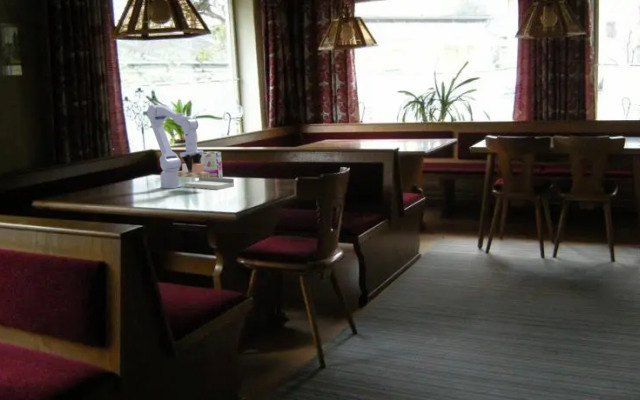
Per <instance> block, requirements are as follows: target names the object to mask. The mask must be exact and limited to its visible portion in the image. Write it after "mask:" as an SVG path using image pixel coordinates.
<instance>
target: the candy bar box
mask: <svg viewBox="0 0 640 400" xmlns="http://www.w3.org/2000/svg"><path fill="white" fill-rule="evenodd" d="M200 155H202V157H201V159H200V161H199V163H200V164H203V170H204V172H209V175H210V177H216V178H224V177H223V161H222V151H203V154H200Z"/></svg>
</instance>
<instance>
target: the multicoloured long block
mask: <svg viewBox="0 0 640 400" xmlns="http://www.w3.org/2000/svg"><path fill="white" fill-rule="evenodd" d="M192 164H197V163H193V162H192ZM177 176H178V177H179V178H180V177H182V178H193V179H194V178H195V179H196V178H197V179H199V178H206V177H210V175H209V172H200V173H194V172H192V170H188V172H183V171H182V170H178V172H177Z"/></svg>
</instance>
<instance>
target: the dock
mask: <svg viewBox="0 0 640 400" xmlns="http://www.w3.org/2000/svg"><path fill="white" fill-rule="evenodd" d="M234 181H235V180H234V178H230V177H229V178H228V177H227V178H226V177H223V178H216V177H206V178H198V180H193V181H188V182H184V188H193V187H195V188H194V189H205V188H207V190H208V189H209V190H217V189H218V190H222V189H223V190H224V189H228V188H233V187H235V184H234V183H235V182H234ZM232 186H233V187H232Z"/></svg>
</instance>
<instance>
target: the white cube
mask: <svg viewBox="0 0 640 400" xmlns="http://www.w3.org/2000/svg"><path fill="white" fill-rule="evenodd" d="M181 169H182V170H181V171H183V172H188V169H187V166H186V163H181Z"/></svg>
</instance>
